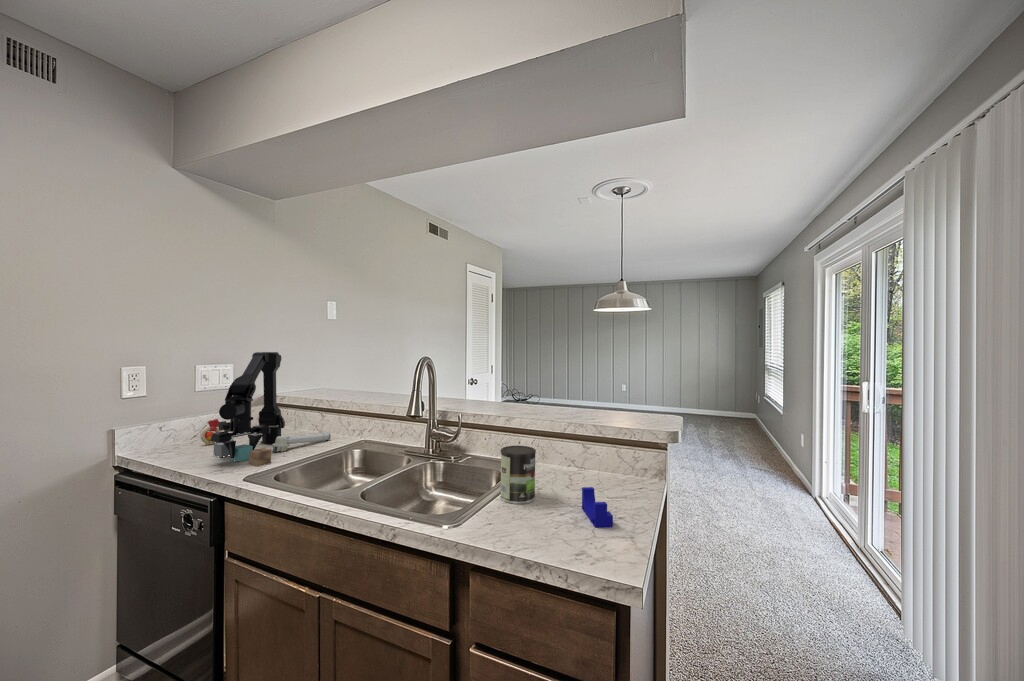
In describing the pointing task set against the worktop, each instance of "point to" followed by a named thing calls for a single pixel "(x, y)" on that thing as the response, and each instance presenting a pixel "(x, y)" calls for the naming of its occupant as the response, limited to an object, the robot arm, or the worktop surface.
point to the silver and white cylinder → (298, 440)
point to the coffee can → (518, 474)
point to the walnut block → (260, 456)
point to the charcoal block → (220, 450)
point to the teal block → (242, 452)
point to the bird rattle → (210, 431)
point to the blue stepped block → (595, 509)
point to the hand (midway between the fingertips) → (241, 456)
